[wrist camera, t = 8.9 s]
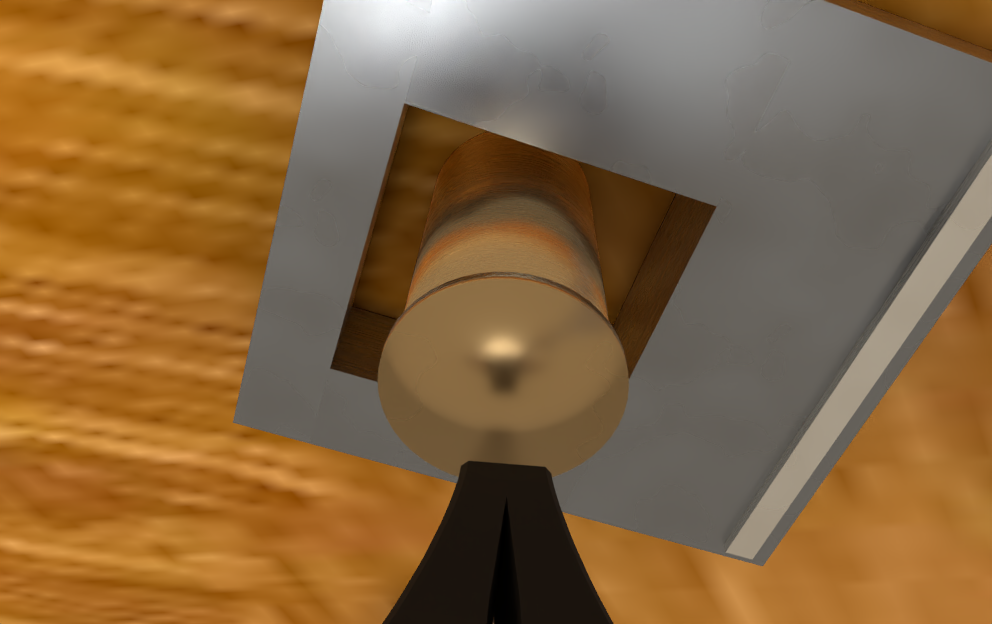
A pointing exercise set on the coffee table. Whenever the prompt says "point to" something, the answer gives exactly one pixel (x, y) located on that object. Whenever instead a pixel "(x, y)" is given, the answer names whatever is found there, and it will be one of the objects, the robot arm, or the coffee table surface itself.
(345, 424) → the jig
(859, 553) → the coffee table surface
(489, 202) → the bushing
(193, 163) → the coffee table surface
